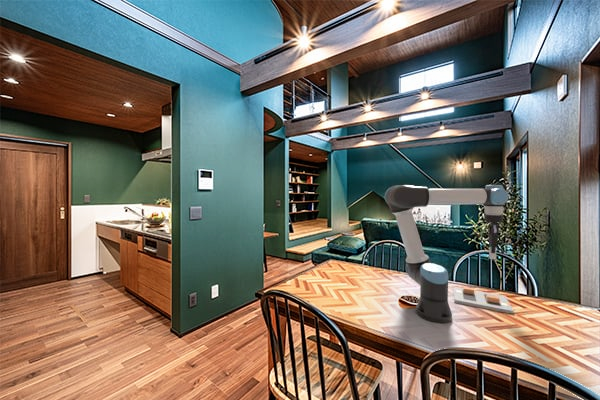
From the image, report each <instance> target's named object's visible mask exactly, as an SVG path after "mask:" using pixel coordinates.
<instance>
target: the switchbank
mask: <svg viewBox="0 0 600 400" xmlns="http://www.w3.org/2000/svg"><path fill="white" fill-rule="evenodd" d="M486 295H491V296H497V297H499V299H500V303H493V302H488V301H487V299H486ZM453 297H454V299H453V301H454V302H453V303H456V304H460V305H465V306H471V307H475V308H481V309H485V310H490V309H491V311H495V310H496V312H500V313H501V312H502V313H505V312H506V314H510V313H511V314H512V315H514V313H515V312H514V309H513V307H512V306H511V305H512V304H510V302H509V300H508V298H507V296H506V295H502V294H498V293H497V294H496V293H492V292H486V291H485V292H484V291H481V290H474V295H473V294H468V293H463V287H454V286H453Z"/></svg>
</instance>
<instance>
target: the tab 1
mask: <svg viewBox="0 0 600 400" xmlns="http://www.w3.org/2000/svg"><path fill="white" fill-rule="evenodd" d="M462 288H463V293H468V294H473V295H474V291H475V289H474V288H473V287H472V288H471V287H466V286H462Z"/></svg>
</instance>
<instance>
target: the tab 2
mask: <svg viewBox="0 0 600 400" xmlns="http://www.w3.org/2000/svg"><path fill="white" fill-rule="evenodd" d="M486 299H487V301H488V302H493V303H500V299H499V297H497V296H491V295H486Z"/></svg>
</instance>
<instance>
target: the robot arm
mask: <svg viewBox="0 0 600 400" xmlns="http://www.w3.org/2000/svg"><path fill="white" fill-rule="evenodd" d="M509 196H510V195H509V192H508V191H507V190H506V189H504V186H503V185H501V184H486V185H485V187H484V188H428V187H427V186H417V185H416V186H415V185H410V184H403V185H398V184H396V185H393V186H391V187H389V188H388V189H387V190H386V191H385V193H384V200H385V203H386V205H388V206H389V209H390V213H391V214H392V215H394V216H395V219H396V223H397V227H398V229H399V233H400V236H401V239H402V242H403V246H404V250H405V253H406V255H407V256H406V258H405V263H406V264H405V271H406V274H407V275H408V277H409V278H411V280H413V281H414V282H416V283H417V284H418V285H419V287H420V288H419V289H420V293H419V294H420V295H419V299H418V301H417V304H416V306H415V311H416V312H415V313H416V314H417V315H418V316H419V317H421V318H422V319H424V320H427V321H429V322H432V323H437V324H446V323H450V322H451V321H452V319H453V313H452V310H451V307H450V303H449V301H448V300H449V299H448V298H449V273H448V270H447V269H446V268H445V267H444V266H442V265H439V264H436V263H432V262H431V261H430V257H429V255H428V254H425V251H424V248H423V245H422V241H421V239H420V234H419V231H418V228H417V224H416V221H415V218H414V214H413V210H414V208H421V207H423V208H426V207H428V206H430V205H433V206H434V205H438V206H439V205H484V222H486V223H489V224H488V225H487V227H488V247H489V251H488V252H489V253H488V254H489V256H488V257H489V259H490V260H494V261H495V260H497V247H498V242H499V241H498V240H499V231H500V229H499V227H500V226H499V225H498V223H503V221H504V220H503V219H504V215H503V214H504V211H505V208H504V205H505V204H506V203H507V202H508V200H509V198H510V197H509Z"/></svg>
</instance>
